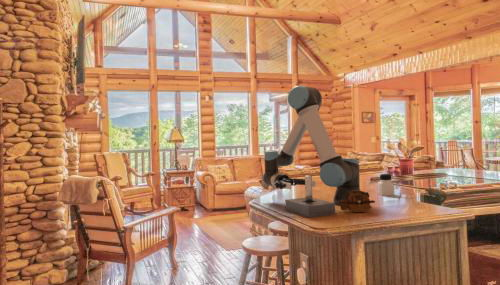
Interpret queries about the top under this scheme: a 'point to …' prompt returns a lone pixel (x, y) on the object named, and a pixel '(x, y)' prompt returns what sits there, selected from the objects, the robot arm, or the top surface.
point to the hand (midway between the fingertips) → (302, 185)
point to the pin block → (310, 207)
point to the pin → (308, 188)
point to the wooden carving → (356, 201)
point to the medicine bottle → (385, 185)
